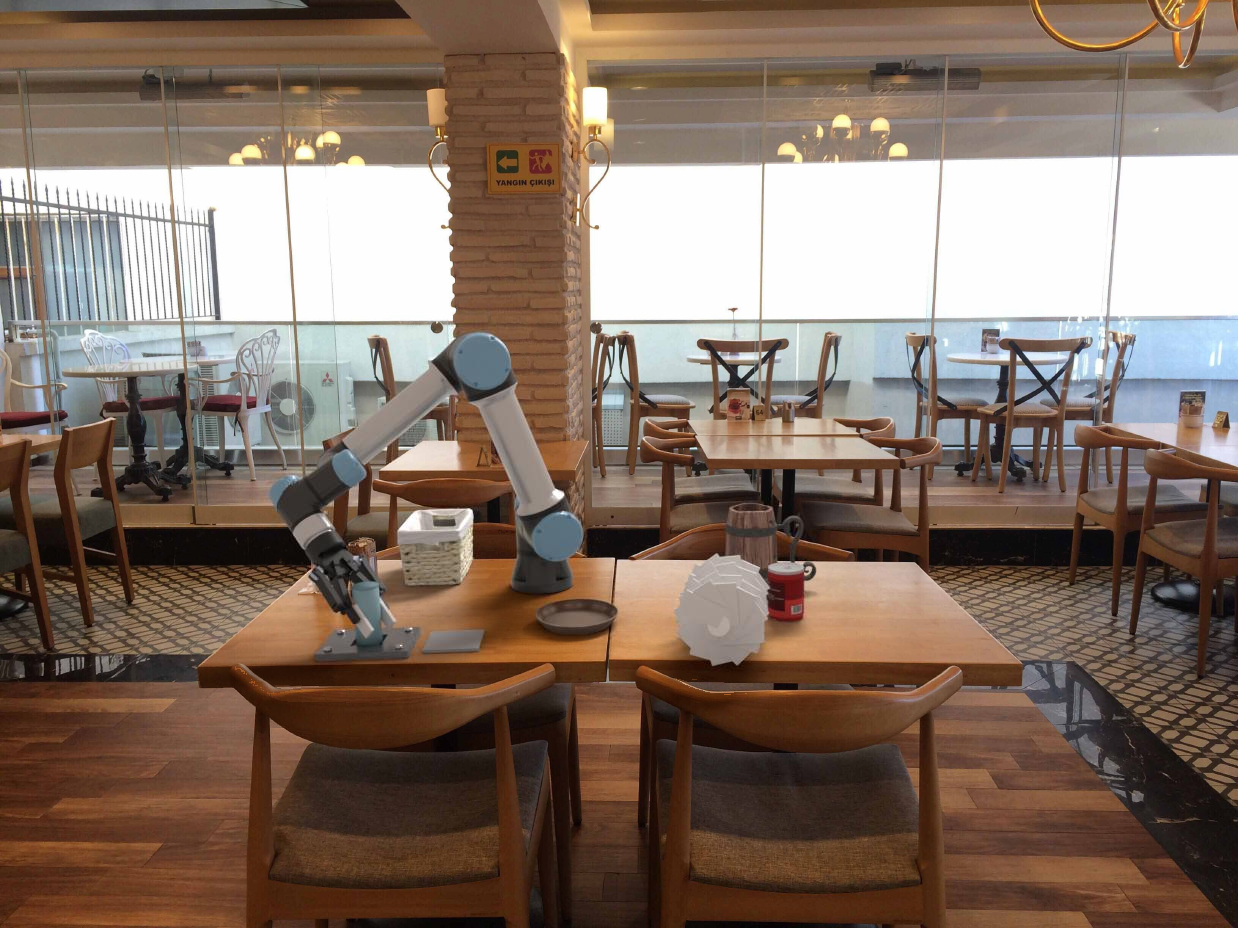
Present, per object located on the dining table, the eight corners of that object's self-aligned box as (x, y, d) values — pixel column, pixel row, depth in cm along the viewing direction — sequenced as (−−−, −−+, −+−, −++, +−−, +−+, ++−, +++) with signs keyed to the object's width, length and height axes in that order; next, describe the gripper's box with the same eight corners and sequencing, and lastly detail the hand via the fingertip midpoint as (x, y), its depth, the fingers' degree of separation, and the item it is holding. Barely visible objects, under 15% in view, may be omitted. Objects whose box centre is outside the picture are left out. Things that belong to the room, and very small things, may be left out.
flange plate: (420, 633, 198) (419, 624, 198) (407, 658, 184) (407, 648, 184) (334, 636, 198) (333, 627, 197) (315, 661, 184) (314, 651, 184)
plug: (385, 641, 194) (381, 581, 191) (380, 650, 189) (375, 588, 186) (360, 642, 194) (355, 581, 191) (353, 651, 188) (348, 589, 186)
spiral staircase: (746, 647, 196) (743, 689, 172) (670, 609, 198) (656, 646, 173) (785, 570, 193) (787, 602, 169) (707, 533, 195) (698, 559, 170)
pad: (484, 632, 198) (484, 629, 198) (478, 651, 187) (478, 648, 187) (432, 633, 198) (431, 631, 198) (422, 653, 187) (422, 650, 187)
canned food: (806, 611, 205) (806, 562, 204) (801, 623, 198) (801, 573, 196) (771, 608, 208) (771, 560, 206) (764, 620, 200) (764, 570, 199)
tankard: (717, 601, 214) (716, 516, 211) (713, 580, 231) (712, 500, 227) (821, 600, 213) (822, 514, 209) (810, 579, 229) (810, 498, 226)
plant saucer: (625, 635, 195) (624, 621, 194) (539, 642, 192) (539, 628, 191) (611, 608, 212) (611, 595, 211) (533, 614, 209) (532, 601, 209)
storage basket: (463, 586, 231) (460, 528, 229) (397, 588, 231) (393, 530, 228) (477, 560, 255) (474, 507, 252) (417, 562, 255) (414, 509, 252)
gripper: (347, 541, 204) (406, 626, 198) (275, 562, 189) (337, 654, 183) (362, 520, 200) (422, 606, 194) (290, 539, 185) (353, 633, 179)
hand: (381, 629), depth 188 cm, fingers closed on plug, 5 cm apart
